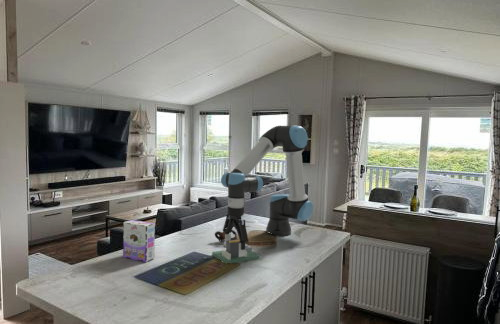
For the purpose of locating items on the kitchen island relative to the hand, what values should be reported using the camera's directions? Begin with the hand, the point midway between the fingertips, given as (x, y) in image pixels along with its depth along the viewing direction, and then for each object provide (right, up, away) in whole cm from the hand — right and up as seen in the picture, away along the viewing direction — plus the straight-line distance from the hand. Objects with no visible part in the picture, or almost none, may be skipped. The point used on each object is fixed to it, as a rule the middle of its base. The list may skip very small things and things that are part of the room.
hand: (234, 251), depth 157 cm
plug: (0, -2, 0) cm, 2 cm away
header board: (+1, -3, +3) cm, 4 cm away
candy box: (-43, -2, -4) cm, 44 cm away
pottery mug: (-6, -2, +23) cm, 24 cm away
